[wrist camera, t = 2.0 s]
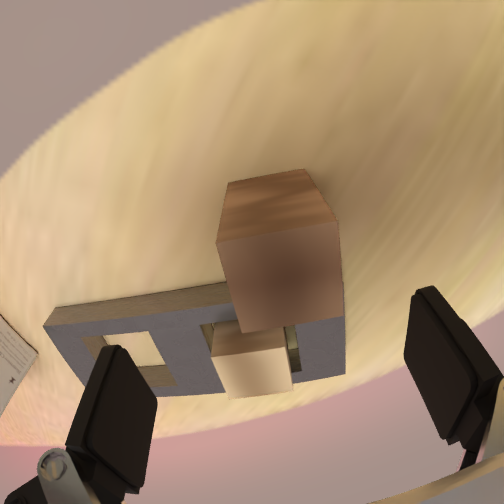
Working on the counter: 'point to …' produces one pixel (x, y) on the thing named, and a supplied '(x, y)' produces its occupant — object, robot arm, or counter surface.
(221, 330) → the seated oak block
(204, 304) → the grey flat frame
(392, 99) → the counter surface
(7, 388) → the skincare box
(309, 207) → the walnut block
